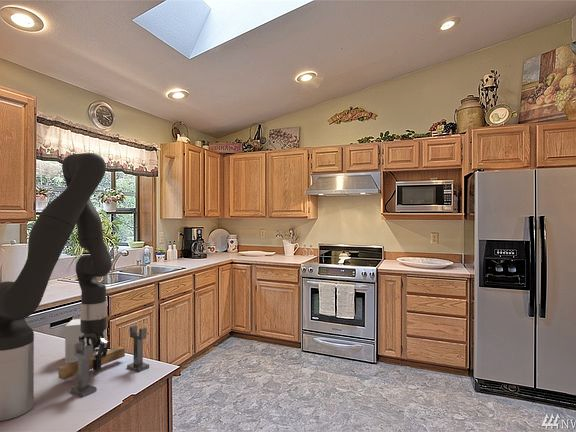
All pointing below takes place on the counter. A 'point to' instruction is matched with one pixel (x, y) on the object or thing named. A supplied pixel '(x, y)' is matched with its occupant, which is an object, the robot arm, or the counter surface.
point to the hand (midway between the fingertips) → (93, 368)
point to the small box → (71, 339)
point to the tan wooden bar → (91, 363)
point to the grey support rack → (85, 355)
